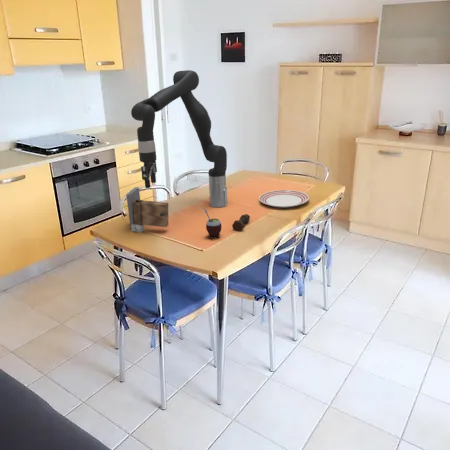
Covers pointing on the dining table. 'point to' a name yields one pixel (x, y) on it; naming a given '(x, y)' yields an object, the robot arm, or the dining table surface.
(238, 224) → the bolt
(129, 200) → the cabinet side
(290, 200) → the dinner plate
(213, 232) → the mate gourd
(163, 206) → the door
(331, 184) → the dining table surface
